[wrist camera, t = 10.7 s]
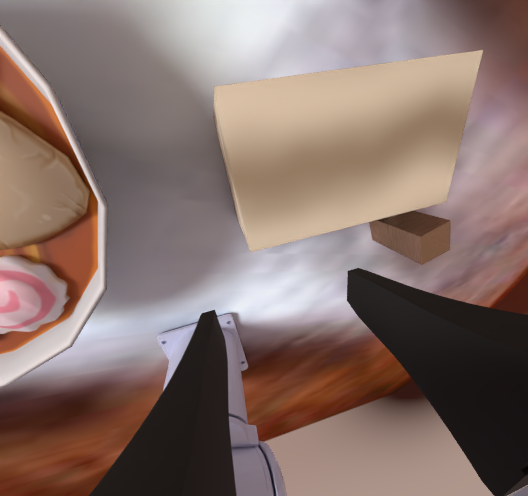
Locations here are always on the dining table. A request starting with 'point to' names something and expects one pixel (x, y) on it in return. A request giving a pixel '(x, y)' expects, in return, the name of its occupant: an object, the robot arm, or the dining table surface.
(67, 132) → the ramen bowl
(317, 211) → the tan slab
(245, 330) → the dining table surface
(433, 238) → the wood grain brick
